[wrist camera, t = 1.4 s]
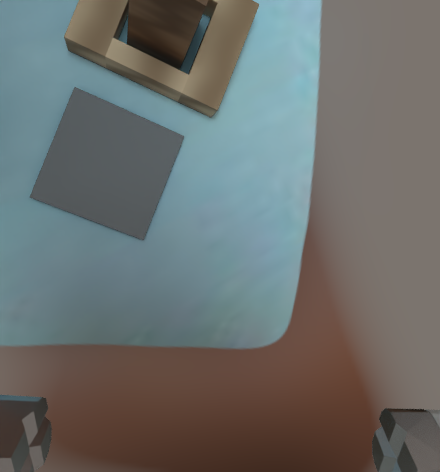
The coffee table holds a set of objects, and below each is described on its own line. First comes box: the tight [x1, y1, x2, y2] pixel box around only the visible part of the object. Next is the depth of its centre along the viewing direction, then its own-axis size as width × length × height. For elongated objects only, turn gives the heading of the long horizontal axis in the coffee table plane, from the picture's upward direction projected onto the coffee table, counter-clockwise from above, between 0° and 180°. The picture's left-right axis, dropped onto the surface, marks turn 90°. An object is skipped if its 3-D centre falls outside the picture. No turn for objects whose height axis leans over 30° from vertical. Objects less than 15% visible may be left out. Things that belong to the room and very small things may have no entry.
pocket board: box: [64, 0, 259, 117], centre depth 32 cm, size 12×9×2 cm
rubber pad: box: [30, 87, 184, 240], centre depth 33 cm, size 9×9×1 cm
